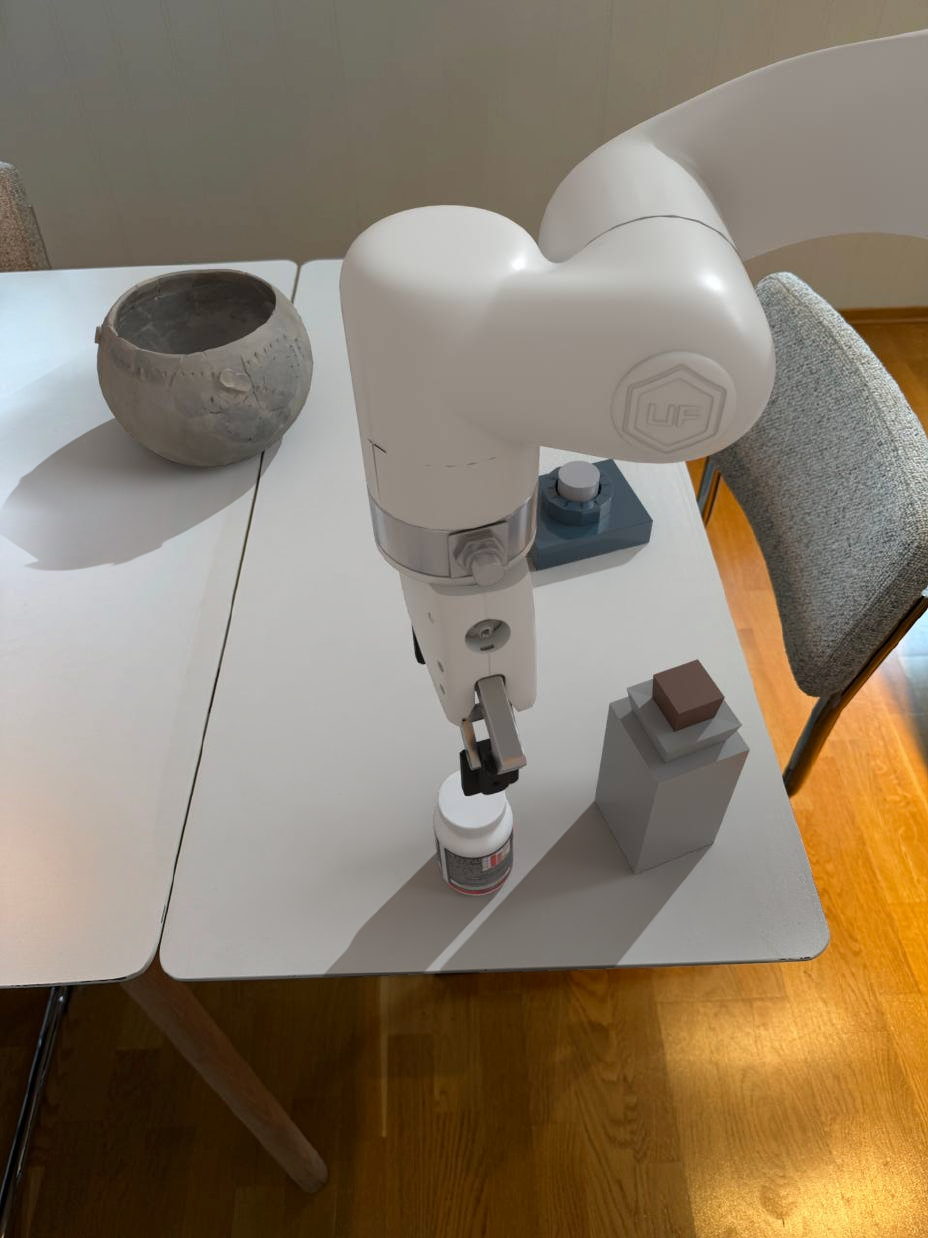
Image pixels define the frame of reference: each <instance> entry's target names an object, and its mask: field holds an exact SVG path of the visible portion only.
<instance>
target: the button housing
mask: <svg viewBox="0 0 928 1238" xmlns="http://www.w3.org/2000/svg"><path fill="white" fill-rule="evenodd" d="M590 463H591V464H593V465H594V466H596V467H597V469H598V470H599V473H600V479H599V489H598V494H597V496H596V497H595V498H594V499H593V500H591V501H587V502H583V503H578V502H570V501H567V500H565V499H564V498H562V497H561V496H560V495H559V493H558V489H557V488H558V473H559V470H560V468H561V467H562V466H563V465H560V466H556V467H555V468H554V469H553V470H551V471H550V472H548V473H544V474H541V475H540V474H539V484H538V505H537V522H536V535H535V539H534V542H533V544H532V546H531V548H530V550H529V552H528V553H527V555H529V558H530V560H531V561H532V563H533V566H534V567H535V570H536V571H543V570H546V569H550V568H553V567H557V566H562V565H565V564H569V563H572V562H573V563H574V562H577V561H581V560H584V559H589V558H592V557H596V556H601V555H605V554H608V553H612V552H616V551H620V550H623V549H628V548H632V547H635V546H639V545H644V544H647V543H650V540H651V535H652V529H653V524H654V520H653V518H652V517H651V515H650V513H649V512H648V510H647V509H646V507H645V505H643V503H642V502H641V500H640V498H639V497H638V495H637V494H636V492H635V491H634V489H633V487H632V486H631V485H630V483H629V481H628V480H627V479H626V477H625V476H624V474H623V472H622V471H621V469H620V467H618V465H617V463H616V462H615V460H614V459H608V458H606V459H603V460H599V461H595V462H590Z"/></svg>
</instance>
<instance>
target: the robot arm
mask: <svg viewBox="0 0 928 1238" xmlns="http://www.w3.org/2000/svg"><path fill="white" fill-rule="evenodd" d="M863 233H864V234H867V233H868V234H890V235H891V234H892V235H899V236H906V237H907V236H908V237H914V238H918V239H923V240H928V28H925V29H921V30H920V29H919V30H916V31H911V32H905V33H900V34H896V35H890V36H885V37H880V38H874V39H868V40H863V41H857V42H852V43H847V44H842V45H841V44H840V45H836V46H832V47H828V48H824V49H820V50H816V51H811V52H810V51H809V52H807V53H803V54H799V55H797V56H793V57H790V58H786V59H782V60H779V61H777V62H774V63H771V64H769V65H766V66H763V67H759V68H758V69H755V70H752V71H749V72H748V73H744V74H742V75H740V76H738V77H735V78H733V79H731V80H729V81H726V82H724V83H722V84H719V85H717V86H715V87H713V88H711V89H709V90H707V91H705V92H703V93H700V94H698V95H696V96H694V97H692V98H690V99H688V100H685V101H684V102H682V103H680V104H678V105H675V106H674V107H671V108H669V109H667V110H664V111H663V112H661V113H659V114H657V115H654V116H653V117H651V118H648V119H647V120H644V121H642V122H641V123H638V124H637V125H635V126H633V127H631V128H628V129H627V130H626V131H624V132H622V133H620V134H619V135H616V136H615V137H614V138H612V139H610V140H608V141H607V142H605V143H603V145H600V146H599V147H598V148H596V149H595V150H594V151H593V152H591V153H590V154H589V155H588V156H587V157H585V158H584V159H583V160H581V161H580V162H578V164H576V165H575V167H573V168H572V170H570V172H569V173H568V174H567V175H566V177H564V179H563V180H562V181H561V182H560V183H559V185H558V186H557V188H556V189H555V191H554V193H553V195H552V196H551V198H550V200H549V201H548V202H547V205H546V208H545V211H544V214H543V216H542V220H541V222H540V227H539V233H538V238H537V239H538V240H537V243H536V241H535V240H534V238H533V237H532V236H531V235H530V234H529V232H527V231H526V229H525V228H524V227H522V226H521V225H519V224H517V223H516V222H515V221H513V220H511V219H510V218H509V217H506V216H504V215H502V214H500V213H498V212H494V211H491V210H488V209H485V208H480V207H474V206H466V205H460V204H459V205H458V204H457V205H455V204H454V205H453V204H439V205H427V206H421V207H414V208H410V209H405V210H402V211H400V212H396V213H394V214H393V213H392V214H390V215H388V216H385V217H384V218H381V219H380V220H378V221H376V222H374V223H373V224H371V225H370V226H369V227H367V228H366V229H365V230H363V232H360V234H358V236H357V237H356V238H355V239H354V240H353V242H352V243H351V244H350V246H349V248H348V249H347V252H346V254H345V255H344V258H343V260H342V263H341V268H340V275H339V281H338V282H339V283H338V289H339V301H340V308H341V309H340V311H341V317H342V324H343V331H344V338H345V344H346V345H345V346H346V351H347V358H348V364H349V365H348V367H349V372H350V379H351V385H352V392H353V398H354V406H355V413H356V419H357V426H358V432H359V433H358V434H359V440H360V448H361V454H362V461H363V462H362V463H363V469H364V477H365V483H366V492H367V498H368V505H369V510H370V518H371V524H372V530H373V537H374V544H375V545H376V548H377V551H378V552H379V554H380V555H381V556H382V558H383V559H384V561H385V562H387V563H388V564H389V565H390V566H391V567H392V568H393V569H394V570H396V571H397V572H398V573H399V580H400V585H401V591H402V594H403V599H404V602H405V606H406V611H407V614H408V617H409V620H410V622H411V632H412V633H411V634H412V641H413V650H414V651H413V653H414V657H415V659H416V662H417V663H418V664H420V665H423V666H424V665H425V666H426V668H427V671H428V674H429V677H430V678H431V682H432V684H433V686H434V690H435V692H436V695H437V698H438V701H439V703H440V706H441V708H442V710H443V712H444V715H445V717H446V719H447V721H448V722H449V723H451V724H453V726H457V727H459V730H460V733H461V739H462V743H463V747H464V748H463V749H462V750H461V751H459V770H460V772H461V787H462V790H463V793H464V795H465V796H472V795H476V794H479V793H482V794H483V795H491V794H495V793H498V792H501V791H503V790H505V791H506V789H508V787H509V786H510V785H513V784H515V783H517V782H519V781H518V780H519V778H520V769H523V767H526V766H527V763H528V762H527V757H526V752H525V750H524V746H523V744H522V740H521V737H520V733H519V730H518V726H517V720H516V717H515V712H514V709H515V710H516V711H517V712H518V713H520V712H522V711H525V710H529V709H531V708H533V707H534V705H535V704H536V700H537V696H538V649H537V647H538V645H537V643H538V641H537V624H536V622H537V621H536V610H535V609H536V607H535V599H534V592H533V585H532V580H531V579H532V578H531V573H530V568H529V564H528V559H527V555H528V552H529V550H530V548H531V546H532V544H533V542H534V539H535V535H536V522H537V505H538V484H539V476H540V456H541V447H544V448H550V449H555V450H559V451H565V452H566V451H567V452H571V453H577V454H582V455H587V456H592V457H598V458H601V459H602V458H603V459H613V460H614V461H622V462H628V463H636V464H656V465H657V464H658V465H664V464H665V465H666V464H678V463H684V462H689V461H690V462H691V461H695V460H700V459H702V458H705V457H709V456H711V455H713V454H716V453H718V452H720V451H722V450H725V449H726V448H728V447H729V446H731V445H732V444H734V443H735V442H737V441H738V440H740V439H741V438H742V437H743V436H744V435H746V434H747V433H748V432H749V431H750V430H751V429H752V427H754V425H755V424H756V423H757V422H758V421H759V419H760V418H761V416H762V414H763V413H764V411H765V409H766V407H767V405H768V404H769V401H770V398H771V394H772V392H773V389H774V385H775V379H776V368H777V358H776V349H775V348H776V347H775V342H774V339H773V335H772V332H771V327H770V324H769V321H768V318H767V316H766V313H765V310H764V308H763V306H762V303H761V301H760V299H759V296H758V294H757V293H756V290H755V287H754V285H753V284H752V281H751V279H750V277H749V275H748V271H747V269H746V266H745V264H744V262H746V261H749V260H751V259H755V258H756V257H759V256H762V255H764V254H766V253H769V252H772V251H775V250H778V249H780V248H784V247H787V246H790V245H793V244H798V243H801V242H805V241H809V240H813V239H820V238H824V237H830V236H831V237H832V236H836V235H837V236H838V235H849V234H863ZM476 697H477V700H478V702H477V703H476ZM483 720H484V723H485V727H486V730H487V734H488V737H489V738H485V739H482V740H478V741H477V738H476V733H475V729H474V728H475V727H474V723H476V722H479V721H483Z"/></svg>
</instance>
